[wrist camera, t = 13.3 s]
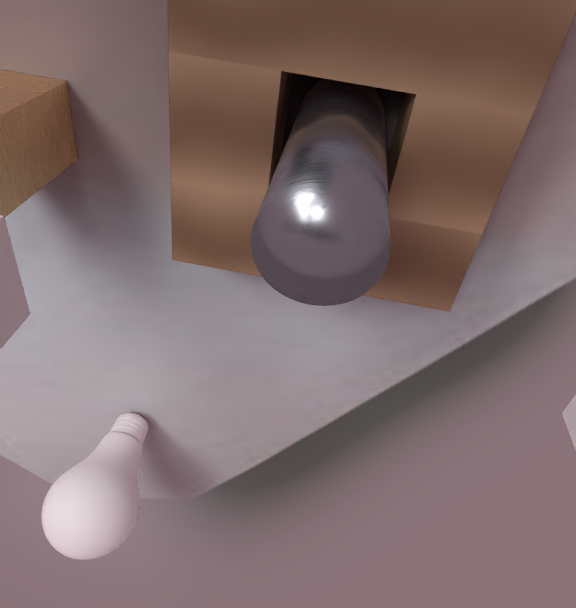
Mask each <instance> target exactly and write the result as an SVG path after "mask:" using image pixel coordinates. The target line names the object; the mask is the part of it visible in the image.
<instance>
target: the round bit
mask: <svg viewBox="0 0 576 608" xmlns="http://www.w3.org/2000/svg"><path fill="white" fill-rule="evenodd" d="M250 246H251V253H252V257H253V260H254V263H255V265H256V267H257V269H258V271H259V272H260V274H261V275H262V277H263V278H264V279H265V280H266V281H267V282H268V283H269V284H270V285H271V286H272V287H273V288H274V289H275V290H277V291H278V292H280V293H281V294H283V295H284V296H286V297H288V298H290V299H293V300H295V301H298V302H301V303H305V304H310V305H320V306H327V305H336V304H342V303H345V302H349V301H351V300H354V299H356V298H358V297H360V296H362V295H363V294H365V293H366V292H367V291H369V290H370V289H371V288H372V287H373V286H374V285H375V284H376V283H377V282H378V281H379V280H380V278H381V277H382V275H383V273H384V272H385V270H386V267H387V265H388V262H389V257H390V224H389V201H388V178H387V155H386V133H385V113H384V106H383V103H382V100H381V98H380V96H379V94H378V93H377V91H376V90H375V89H374V88H373V87H371V86H365V85H360V84H354V83H348V82H342V81H337V80H331V79H323V80H321V81H320V82H318V83H317V84H316V85H315V86H314V87H313V88H312V89H311V90H310V91H309V92H308V94H307V95H306V97H305V99H304V101H303V103H302V106H301V108H300V111H299V113H298V116H297V118H296V121H295V123H294V126H293V128H292V131H291V133H290V135H289V138H288V140H287V143H286V145H285V148H284V150H283V153H282V155H281V158H280V160H279V163H278V165H277V167H276V170H275V172H274V175H273V177H272V180H271V182H270V185H269V187H268V190H267V192H266V195H265V197H264V199H263V202H262V204H261V207H260V209H259V212H258V214H257V217H256V219H255V222H254V225H253V228H252V232H251V241H250Z"/></svg>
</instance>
